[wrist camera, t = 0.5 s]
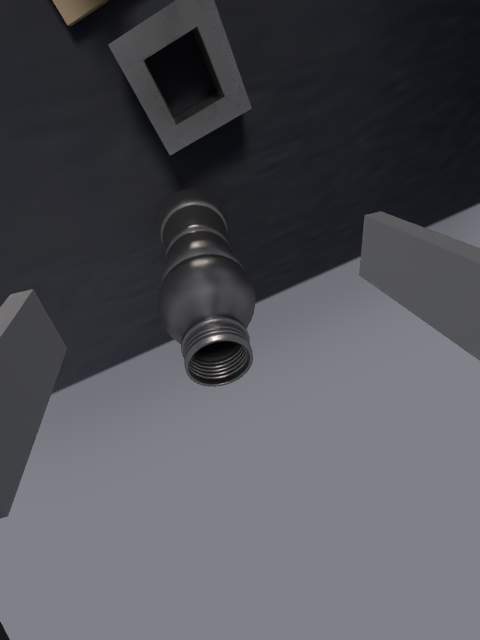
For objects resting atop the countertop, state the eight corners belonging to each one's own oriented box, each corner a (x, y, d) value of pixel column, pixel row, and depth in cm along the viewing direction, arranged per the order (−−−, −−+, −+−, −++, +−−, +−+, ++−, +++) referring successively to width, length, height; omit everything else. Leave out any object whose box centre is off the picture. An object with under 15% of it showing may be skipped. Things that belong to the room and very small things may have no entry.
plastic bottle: (235, 202, 31) (305, 337, 16) (202, 256, 34) (236, 411, 19) (176, 167, 28) (196, 294, 13) (146, 230, 31) (135, 390, 16)
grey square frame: (200, -10, 21) (206, -20, 18) (241, 102, 26) (251, 108, 23) (114, 45, 22) (107, 44, 19) (168, 144, 27) (169, 155, 24)
